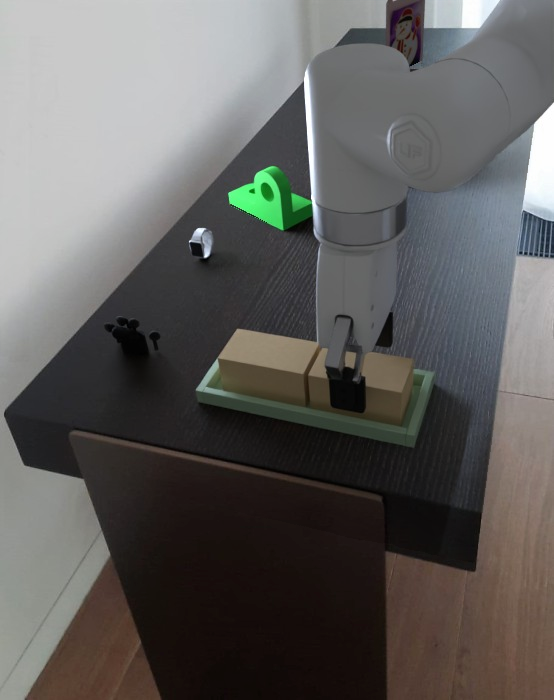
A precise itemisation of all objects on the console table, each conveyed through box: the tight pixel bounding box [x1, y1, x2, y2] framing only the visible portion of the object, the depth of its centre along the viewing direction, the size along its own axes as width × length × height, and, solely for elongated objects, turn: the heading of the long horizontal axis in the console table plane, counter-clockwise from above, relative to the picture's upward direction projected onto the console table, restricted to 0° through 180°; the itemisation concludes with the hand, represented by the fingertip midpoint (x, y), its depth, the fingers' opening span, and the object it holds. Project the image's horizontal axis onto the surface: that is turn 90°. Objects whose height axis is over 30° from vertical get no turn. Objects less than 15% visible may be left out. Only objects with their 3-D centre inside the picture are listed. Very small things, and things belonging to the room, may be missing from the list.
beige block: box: [217, 328, 321, 407], centre depth 71 cm, size 9×5×4 cm, turn 69°
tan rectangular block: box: [308, 348, 415, 427], centre depth 68 cm, size 9×5×4 cm, turn 69°
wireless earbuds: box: [103, 315, 161, 357], centre depth 77 cm, size 7×2×5 cm, turn 69°
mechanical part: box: [228, 165, 313, 232], centre depth 101 cm, size 12×6×8 cm, turn 42°
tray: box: [195, 357, 436, 449], centre depth 71 cm, size 22×9×2 cm, turn 69°
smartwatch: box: [188, 227, 215, 259], centre depth 93 cm, size 4×2×4 cm, turn 156°
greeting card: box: [385, 0, 426, 67], centre depth 141 cm, size 11×7×15 cm, turn 132°
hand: (363, 374), depth 67 cm, fingers open, 9 cm apart
